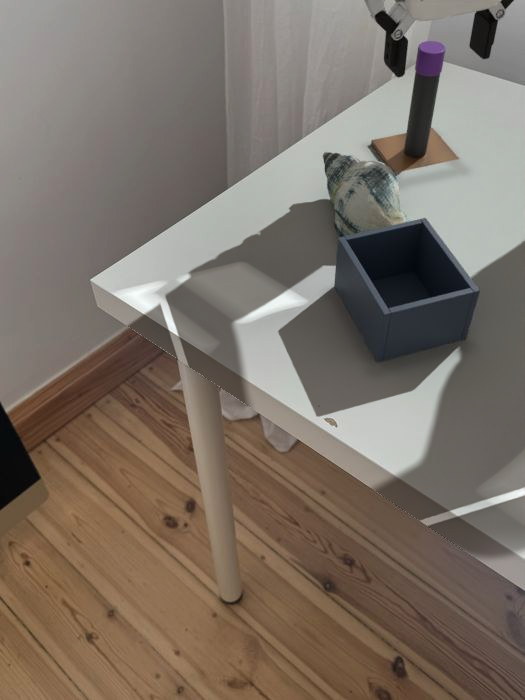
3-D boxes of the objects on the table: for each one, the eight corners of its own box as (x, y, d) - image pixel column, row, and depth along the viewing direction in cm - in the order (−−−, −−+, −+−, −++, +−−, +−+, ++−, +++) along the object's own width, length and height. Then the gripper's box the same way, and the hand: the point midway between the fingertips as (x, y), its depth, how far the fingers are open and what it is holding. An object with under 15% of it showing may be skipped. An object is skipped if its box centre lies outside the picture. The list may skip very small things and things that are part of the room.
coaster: (431, 131, 88) (432, 127, 88) (463, 167, 83) (464, 164, 83) (370, 143, 87) (371, 139, 86) (399, 181, 82) (399, 177, 81)
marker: (420, 142, 86) (438, 38, 76) (431, 155, 84) (450, 50, 75) (398, 147, 85) (413, 43, 76) (409, 160, 84) (425, 55, 74)
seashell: (348, 269, 75) (333, 196, 82) (418, 242, 73) (396, 169, 80) (325, 227, 70) (311, 153, 78) (399, 196, 68) (377, 124, 76)
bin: (415, 270, 72) (425, 217, 67) (465, 343, 66) (480, 290, 61) (333, 290, 71) (337, 237, 66) (376, 367, 64) (384, 314, 59)
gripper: (390, -97, 60) (375, 95, 73) (575, -128, 63) (529, 62, 76) (355, -124, 65) (346, 61, 77) (528, -151, 68) (493, 31, 80)
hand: (437, 62), depth 77 cm, fingers open, 9 cm apart
